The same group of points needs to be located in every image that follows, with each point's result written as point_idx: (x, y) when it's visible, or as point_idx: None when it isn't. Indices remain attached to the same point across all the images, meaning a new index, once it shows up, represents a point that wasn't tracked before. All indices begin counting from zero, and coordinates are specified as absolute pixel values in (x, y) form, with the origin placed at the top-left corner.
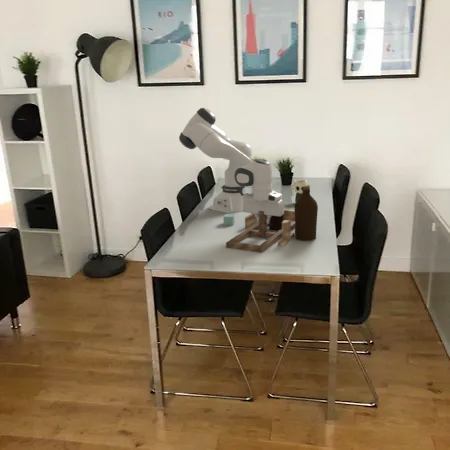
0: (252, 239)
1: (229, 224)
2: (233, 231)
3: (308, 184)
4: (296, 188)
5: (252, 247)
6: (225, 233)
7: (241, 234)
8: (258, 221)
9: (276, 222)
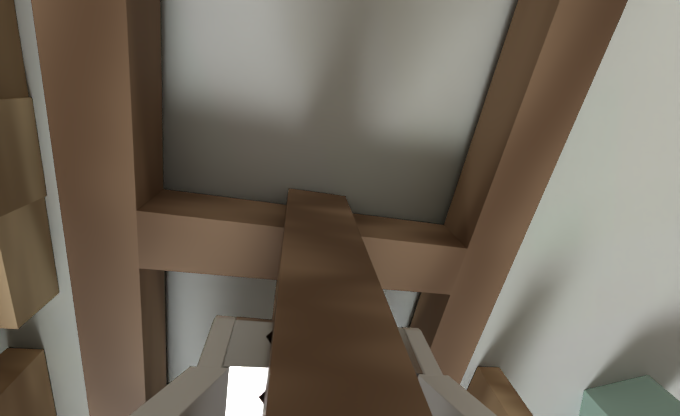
0: (401, 145)
1: (620, 394)
2: (584, 297)
3: None
4: None
5: None
6: (649, 240)
7: (555, 94)
8: (402, 339)
9: None
